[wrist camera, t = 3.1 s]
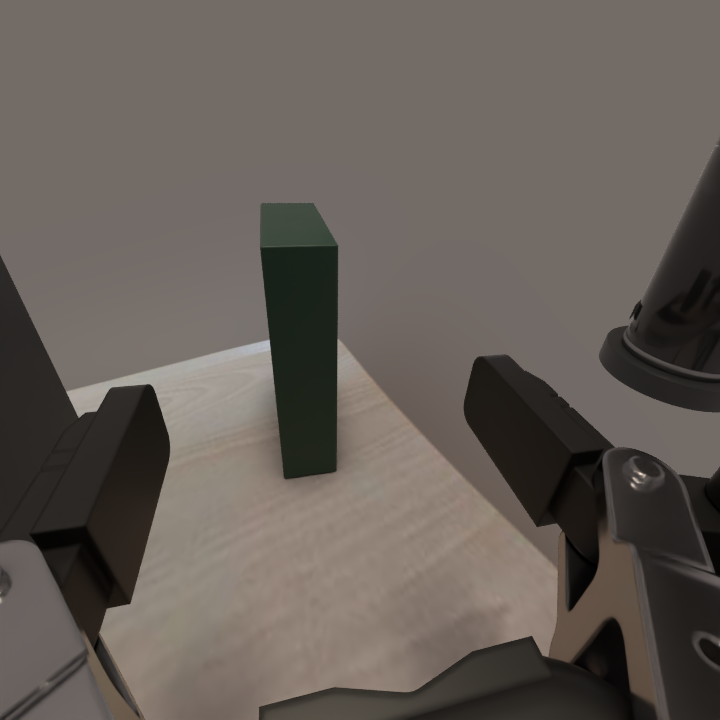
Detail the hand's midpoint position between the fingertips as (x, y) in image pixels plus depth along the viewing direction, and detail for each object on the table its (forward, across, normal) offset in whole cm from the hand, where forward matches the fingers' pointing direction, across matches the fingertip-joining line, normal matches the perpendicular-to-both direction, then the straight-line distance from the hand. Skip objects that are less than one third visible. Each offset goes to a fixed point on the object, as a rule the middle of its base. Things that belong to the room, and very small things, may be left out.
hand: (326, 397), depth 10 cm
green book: (+13, 0, +12) cm, 18 cm away
